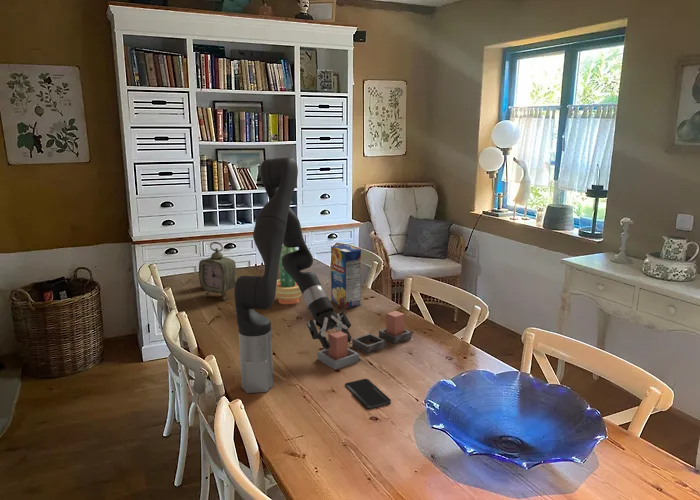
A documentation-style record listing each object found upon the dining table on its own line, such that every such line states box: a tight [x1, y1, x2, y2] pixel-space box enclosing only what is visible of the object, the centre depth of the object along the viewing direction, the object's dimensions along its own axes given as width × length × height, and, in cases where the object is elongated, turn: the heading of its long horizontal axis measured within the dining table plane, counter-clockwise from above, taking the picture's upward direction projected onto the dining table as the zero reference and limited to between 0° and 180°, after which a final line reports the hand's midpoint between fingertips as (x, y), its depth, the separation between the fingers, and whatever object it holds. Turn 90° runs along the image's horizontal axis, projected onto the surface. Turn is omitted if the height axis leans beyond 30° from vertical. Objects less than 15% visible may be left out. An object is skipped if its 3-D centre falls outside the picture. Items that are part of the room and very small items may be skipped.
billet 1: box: [327, 330, 349, 360], centre depth 171 cm, size 4×4×9 cm
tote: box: [317, 347, 360, 371], centre depth 172 cm, size 10×10×3 cm
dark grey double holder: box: [348, 328, 416, 357], centre depth 183 cm, size 21×11×4 cm, turn 128°
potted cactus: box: [275, 244, 303, 305], centre depth 227 cm, size 15×15×25 cm
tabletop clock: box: [198, 241, 238, 301], centre depth 233 cm, size 14×9×25 cm, turn 62°
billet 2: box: [385, 310, 405, 336], centre depth 186 cm, size 4×4×9 cm
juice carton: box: [330, 244, 362, 309], centre depth 225 cm, size 12×8×24 cm, turn 32°
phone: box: [344, 378, 392, 410], centre depth 151 cm, size 8×1×15 cm
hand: (338, 344), depth 171 cm, fingers open, 8 cm apart
